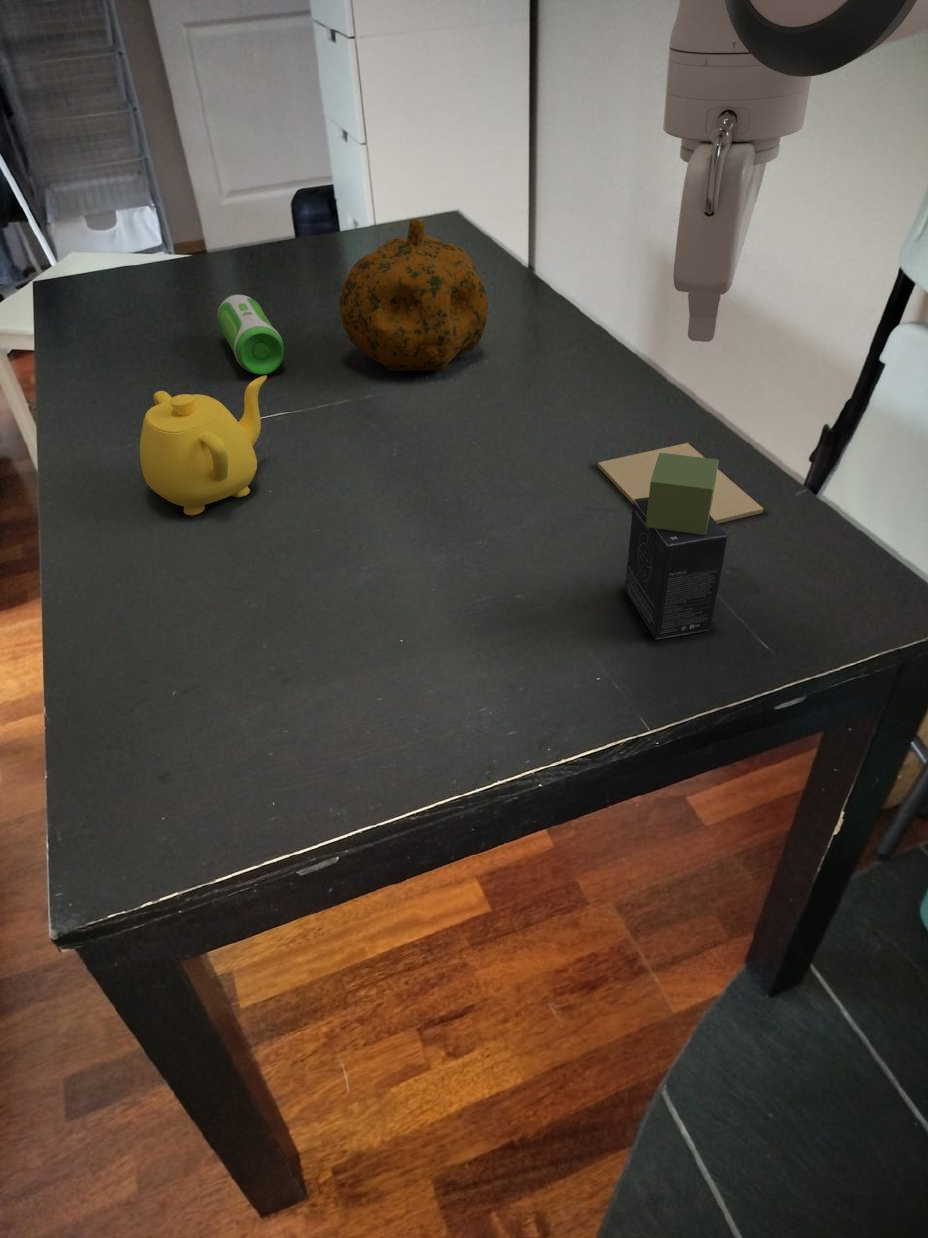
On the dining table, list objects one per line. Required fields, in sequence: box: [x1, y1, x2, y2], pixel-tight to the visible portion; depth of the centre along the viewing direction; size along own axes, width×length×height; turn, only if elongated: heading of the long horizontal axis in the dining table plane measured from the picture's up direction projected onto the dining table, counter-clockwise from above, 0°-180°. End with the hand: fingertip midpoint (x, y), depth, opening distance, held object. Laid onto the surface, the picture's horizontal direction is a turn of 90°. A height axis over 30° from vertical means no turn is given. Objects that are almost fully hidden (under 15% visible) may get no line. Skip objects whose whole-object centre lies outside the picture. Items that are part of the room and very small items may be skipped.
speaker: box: [216, 294, 285, 376], centre depth 130 cm, size 18×7×8 cm, turn 23°
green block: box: [646, 453, 720, 535], centre depth 73 cm, size 5×5×4 cm
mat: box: [597, 442, 764, 525], centre depth 97 cm, size 16×12×1 cm
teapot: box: [139, 375, 268, 516], centre depth 98 cm, size 14×14×12 cm
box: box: [624, 497, 729, 640], centre depth 78 cm, size 8×6×11 cm
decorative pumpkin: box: [338, 218, 489, 372], centre depth 123 cm, size 20×21×20 cm
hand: (709, 313), depth 64 cm, fingers open, 8 cm apart
